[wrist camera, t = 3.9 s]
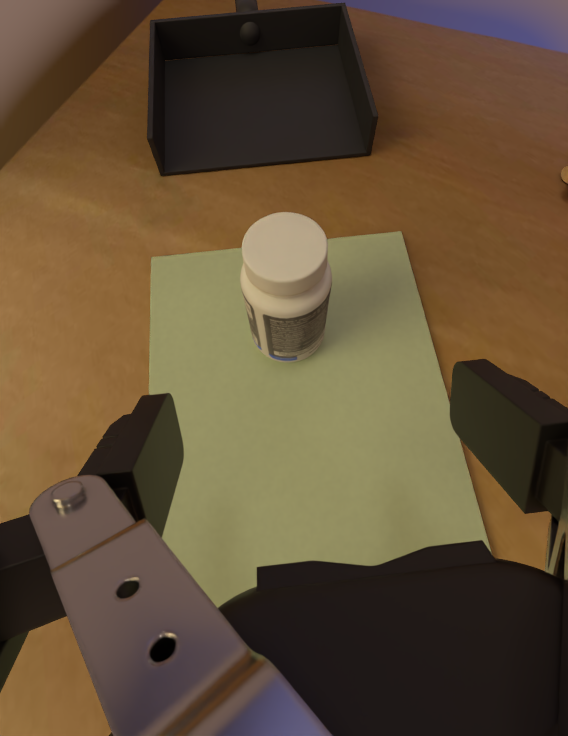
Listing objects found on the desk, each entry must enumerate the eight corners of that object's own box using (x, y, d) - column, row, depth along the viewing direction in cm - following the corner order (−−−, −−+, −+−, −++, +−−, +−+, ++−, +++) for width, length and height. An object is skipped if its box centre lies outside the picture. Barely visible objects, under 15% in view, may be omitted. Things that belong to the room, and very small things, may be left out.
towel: (534, 713, 19) (537, 716, 18) (144, 765, 18) (142, 768, 18) (400, 233, 29) (401, 231, 29) (152, 259, 29) (151, 256, 29)
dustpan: (370, 155, 32) (378, 116, 29) (160, 176, 32) (146, 138, 29) (330, 8, 40) (334, -36, 37) (161, 23, 40) (151, -20, 37)
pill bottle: (337, 320, 26) (356, 231, 18) (299, 377, 25) (302, 306, 17) (276, 288, 27) (270, 190, 20) (236, 340, 26) (212, 257, 18)
